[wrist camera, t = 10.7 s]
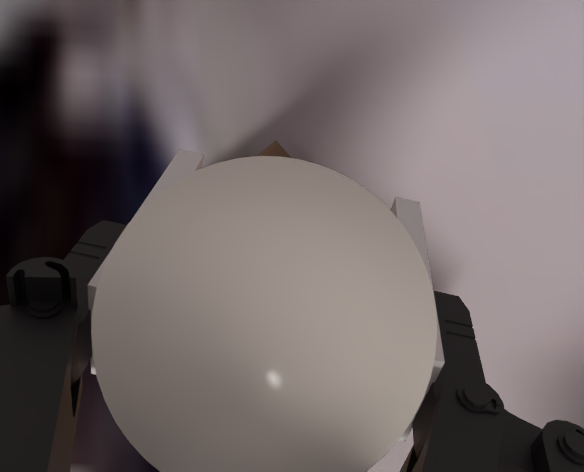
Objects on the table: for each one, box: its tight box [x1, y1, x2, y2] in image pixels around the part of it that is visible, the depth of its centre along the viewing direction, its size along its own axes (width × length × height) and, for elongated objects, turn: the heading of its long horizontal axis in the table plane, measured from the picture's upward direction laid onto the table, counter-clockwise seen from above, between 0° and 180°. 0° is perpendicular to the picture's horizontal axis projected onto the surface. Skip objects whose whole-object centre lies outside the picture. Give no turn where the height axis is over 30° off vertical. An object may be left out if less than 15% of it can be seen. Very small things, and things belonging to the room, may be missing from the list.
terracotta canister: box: [91, 156, 437, 472], centre depth 16 cm, size 6×6×13 cm
